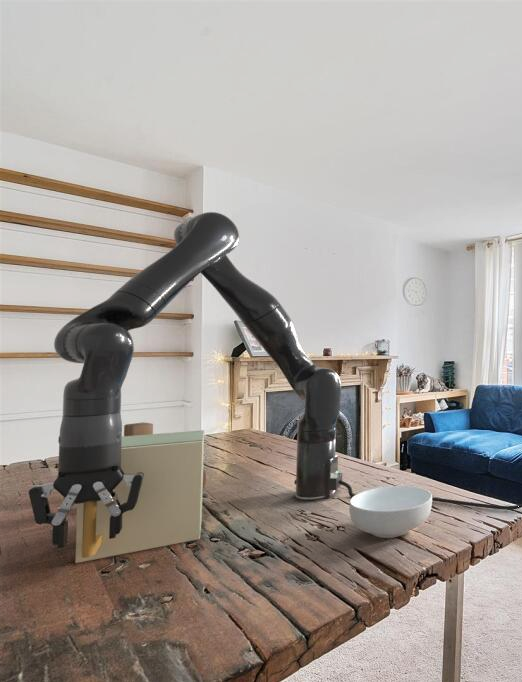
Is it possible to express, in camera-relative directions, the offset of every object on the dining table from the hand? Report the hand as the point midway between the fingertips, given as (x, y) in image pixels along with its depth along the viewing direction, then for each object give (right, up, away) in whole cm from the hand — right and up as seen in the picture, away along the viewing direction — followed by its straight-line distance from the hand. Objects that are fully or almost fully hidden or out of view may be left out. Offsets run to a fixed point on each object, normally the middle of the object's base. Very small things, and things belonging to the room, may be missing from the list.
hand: (88, 540), depth 72 cm
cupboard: (-2, -6, +14) cm, 15 cm away
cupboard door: (+3, -6, +6) cm, 9 cm away
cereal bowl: (+46, -7, +19) cm, 50 cm away
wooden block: (-25, -6, +41) cm, 49 cm away
